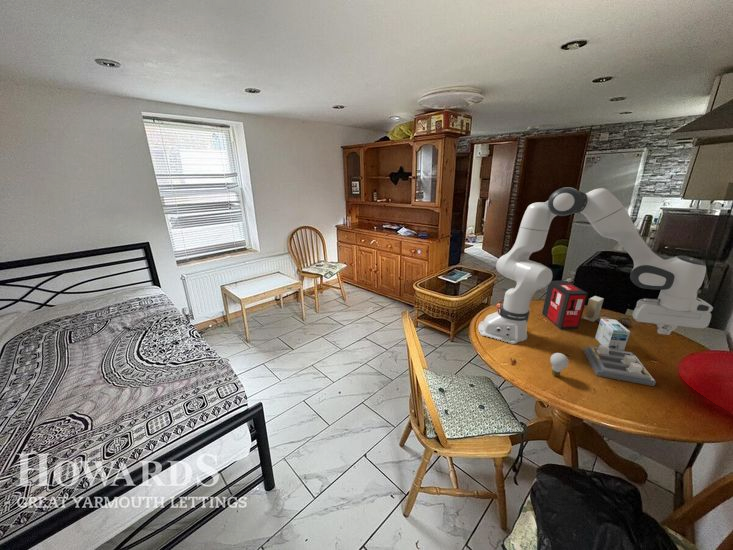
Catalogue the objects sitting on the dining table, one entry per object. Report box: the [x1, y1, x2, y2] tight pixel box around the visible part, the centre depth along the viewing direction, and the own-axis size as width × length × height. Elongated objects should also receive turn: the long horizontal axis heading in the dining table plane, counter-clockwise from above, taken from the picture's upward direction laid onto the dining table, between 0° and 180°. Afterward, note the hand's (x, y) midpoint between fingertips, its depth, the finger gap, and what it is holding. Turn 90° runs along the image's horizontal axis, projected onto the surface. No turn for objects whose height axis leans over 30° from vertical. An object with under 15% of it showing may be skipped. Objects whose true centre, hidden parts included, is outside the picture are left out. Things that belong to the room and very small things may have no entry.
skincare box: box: [583, 295, 605, 323], centre depth 151 cm, size 6×4×12 cm
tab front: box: [626, 362, 642, 374], centre depth 111 cm, size 4×3×4 cm
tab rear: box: [596, 344, 610, 355], centre depth 122 cm, size 4×3×4 cm
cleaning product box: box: [541, 280, 589, 331], centre depth 149 cm, size 16×9×20 cm, turn 179°
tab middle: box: [620, 355, 636, 365], centre depth 115 cm, size 4×3×4 cm
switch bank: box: [583, 345, 657, 387], centre depth 117 cm, size 18×17×3 cm
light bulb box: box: [594, 318, 631, 351], centre depth 130 cm, size 11×7×11 cm, turn 168°
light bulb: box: [549, 352, 569, 377], centre depth 112 cm, size 6×6×10 cm
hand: (663, 333), depth 108 cm, fingers closed
